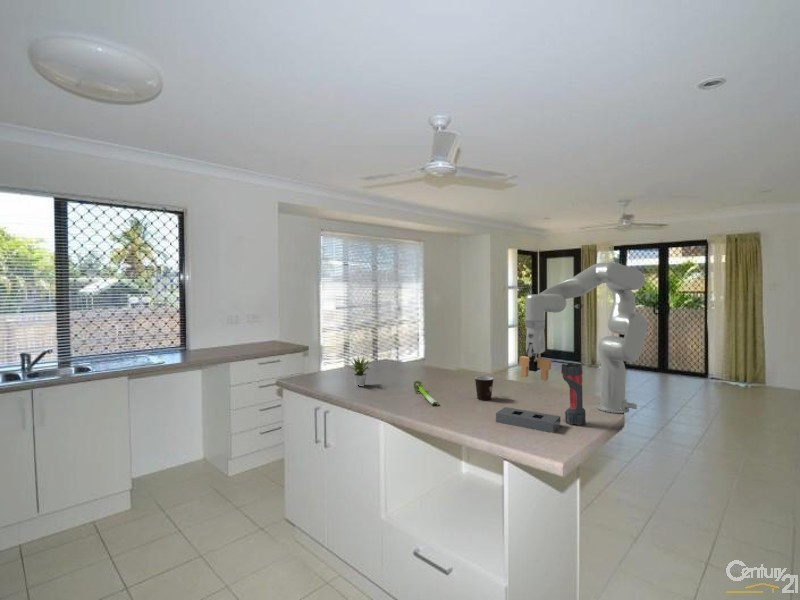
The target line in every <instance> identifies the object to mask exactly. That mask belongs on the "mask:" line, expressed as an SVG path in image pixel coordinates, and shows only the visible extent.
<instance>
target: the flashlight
mask: <svg viewBox="0 0 800 600" xmlns="http://www.w3.org/2000/svg"><path fill="white" fill-rule="evenodd" d="M583 373H584V371H583V366H582V365H581V364H579V363H576V364H573V363H567V364H565V363H562V364H561V374H562V378H563V380H564V382H566V383H567V384H568V387H569V404H570V405H569V408H567V409H566V410H565V411H564V420H565V422H564V423H566V424H569V425H570V426H573V425H577V426H585V425H586V424H587V423H586V409H585V408H584V407H583V403H584V402H583Z"/></svg>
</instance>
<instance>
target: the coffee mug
mask: <svg viewBox="0 0 800 600" xmlns="http://www.w3.org/2000/svg"><path fill="white" fill-rule="evenodd" d="M474 383H475V390H476V391H475V392H476V399H477V400H478V399H479V400H478V401H482V402H485V401H488V400H489V401H491V400H492V394H493V387H494V386H493V384H494V377H493V376H487V375H486V376H485V375H478V376H475V377H474Z"/></svg>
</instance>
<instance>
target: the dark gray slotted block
mask: <svg viewBox="0 0 800 600" xmlns="http://www.w3.org/2000/svg"><path fill="white" fill-rule="evenodd" d="M495 422H496V423H499V422H500V424H505V425H508V426H509V425H511V426H516V427H521V428H526V429H530V428H531V430H535V429H536V430H537V431H540V432H541V431H542V432H546V431H547V432H546V433H551V432H552V434H553V432H554V433H555V432H556V431H557V430H558V429H559V428H560V427H561V416H560V415H556V414H555V415H554V414H549V413H544V412H543V413H542V412H537V411H531V410H524V409H520V408H514V407H508V406H507V407H503V408H502V409H500V410H497V412H496V413H495Z"/></svg>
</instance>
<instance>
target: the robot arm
mask: <svg viewBox="0 0 800 600" xmlns="http://www.w3.org/2000/svg"><path fill="white" fill-rule="evenodd" d="M644 274H645V273H643V271H640V270H639V269H636V268H633V267H631V266H628V265H624V264H621V263H618V262H613V261H612V262H611V261H609V262H599V263H594V264H592V265H590V266H589V267H588V268H586V269H584V270H582V271H581V272H579V273H578V274H575V276H572V277H571V278H569V279H565V280H563V281H562V282H561V281H560V282H559V283H557V284H554V285H552V286H550V287H548V288H546V289H545V290H543V291H542V292H540V293H539V294H534V293H533V294H532V293H531V294H527V295H526V297H525V327H524V328H525V329H526V337H525V350H526V351H525V352H526V353H527V357H529V372H538V371H541V369H540V368H537V361H536V360H537V358H540V359H542V358H541V354H542V353H545V351H546V341H545V340H546V338H545V329H546V313H547V312H548V313H553V314H554V313H560V312H563V311H564V310H565V309H566V307H567V300H568V299H573V298H578V297H582V296H584V295H586V294H587V293H589V292H591V291H592V290H594V289H595V288H597V287H598V286H601V285H602V284H606V287H607V288H608V289H609V290H610V292H611V294H612V301H613V302H612V307H611V310H610V314H609V318H608V322H607V329H608V330H609V331H610V332H612V333H614V334H617V335H624V336H623V337H622V336H615V335H607V336H604V337H603V338H601V339H600V341H599V342H598V345H597V346H598V347H597V348H598V354H599V359H600V397H599V398H600V402H599V403H597V404H596V408H597V409H598V410H600V411H602V412H605V411H606V412H607V413H610V412H611V414H612V413H613V414H626V413H629V412H630V409H633V410H637V409H638V404H636V403H635V402H628V399H627V398H626V366H625V363H624V362H626V363H627V362H628V363H633V362H636V361H638V359H639V358H640V357H641V356H642V355H641V354H642V352H643V348H644V344H645V341H646V337H647V334H648V333H647V332H648V327H649V326H648V322H647V321H648V320H647V319H646V318H645V316H644V315H642V314H641V313H638V312H635V306H636V298H635V295H634V293H633V291H637V290H640V289H641V288H643V287H644V286H645V283H646V277H645V275H644ZM620 408H621V409H622V410H621V409H620Z"/></svg>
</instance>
